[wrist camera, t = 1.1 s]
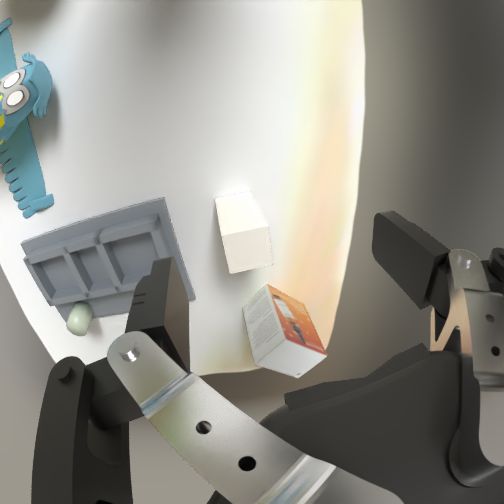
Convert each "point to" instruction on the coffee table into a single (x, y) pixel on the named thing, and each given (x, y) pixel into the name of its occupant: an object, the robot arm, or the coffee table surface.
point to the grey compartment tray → (102, 261)
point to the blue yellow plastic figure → (22, 123)
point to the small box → (282, 333)
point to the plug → (243, 232)
